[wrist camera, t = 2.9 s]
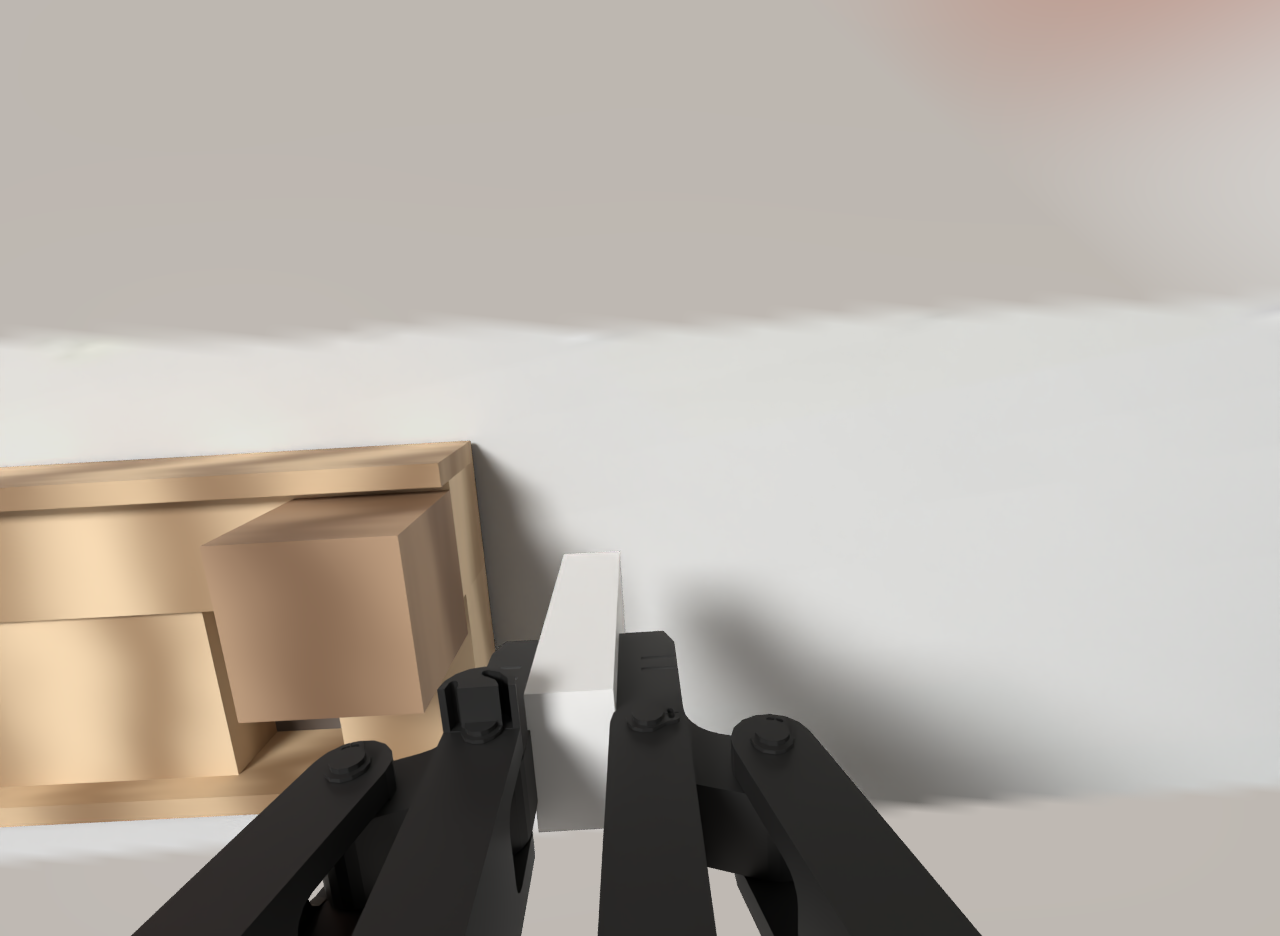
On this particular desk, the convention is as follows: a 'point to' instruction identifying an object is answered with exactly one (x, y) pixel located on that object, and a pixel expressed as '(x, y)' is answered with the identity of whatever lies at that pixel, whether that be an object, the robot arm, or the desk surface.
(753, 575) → the desk surface
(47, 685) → the tray
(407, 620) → the block
